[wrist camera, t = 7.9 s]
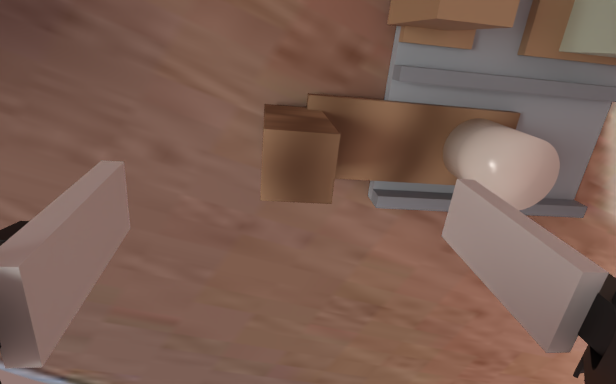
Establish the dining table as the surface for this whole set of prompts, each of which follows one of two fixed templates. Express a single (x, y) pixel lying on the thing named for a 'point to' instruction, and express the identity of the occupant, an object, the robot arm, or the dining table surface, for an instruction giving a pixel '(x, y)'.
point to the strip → (358, 144)
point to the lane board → (499, 85)
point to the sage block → (591, 28)
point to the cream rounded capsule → (502, 161)
